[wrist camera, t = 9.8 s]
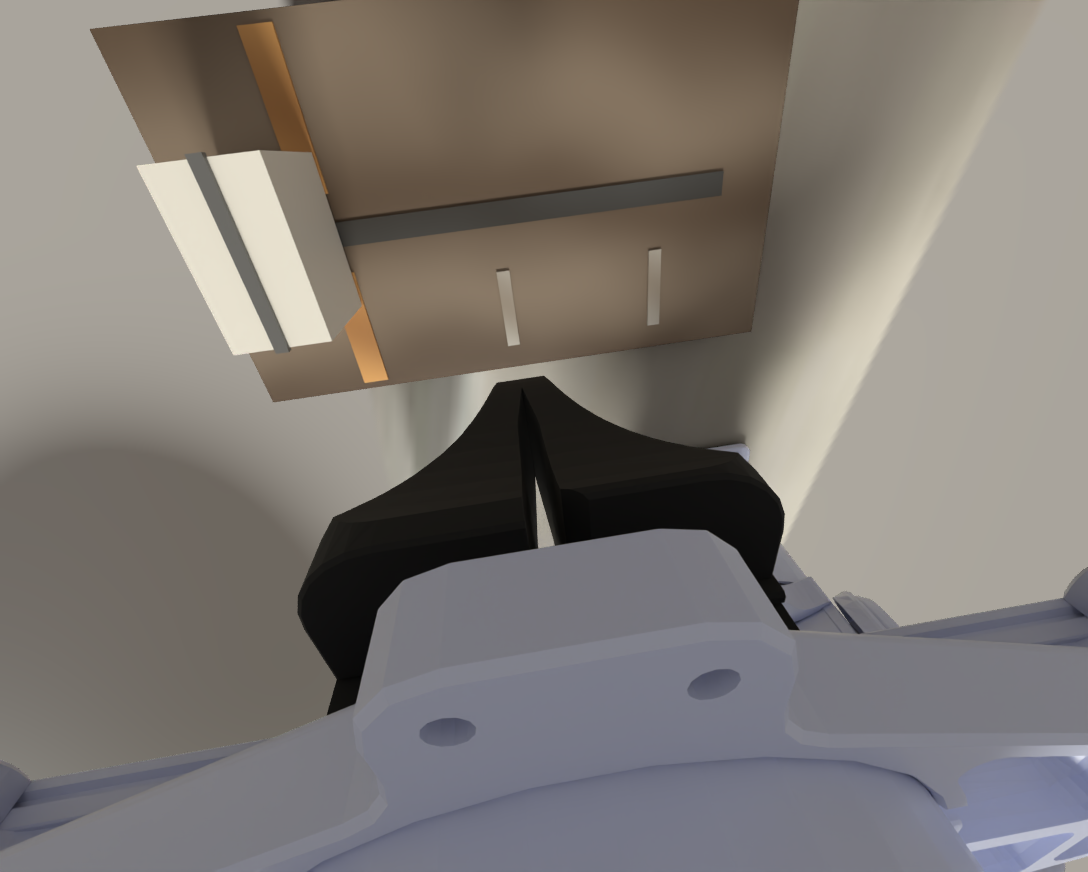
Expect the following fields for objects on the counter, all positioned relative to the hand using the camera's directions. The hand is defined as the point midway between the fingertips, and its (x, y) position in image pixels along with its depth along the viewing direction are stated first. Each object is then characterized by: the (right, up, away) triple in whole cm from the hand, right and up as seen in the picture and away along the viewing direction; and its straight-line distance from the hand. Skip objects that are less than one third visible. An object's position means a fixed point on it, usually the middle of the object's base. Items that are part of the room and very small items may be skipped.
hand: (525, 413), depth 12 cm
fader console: (-2, +8, +6) cm, 10 cm away
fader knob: (-8, +6, +4) cm, 11 cm away
